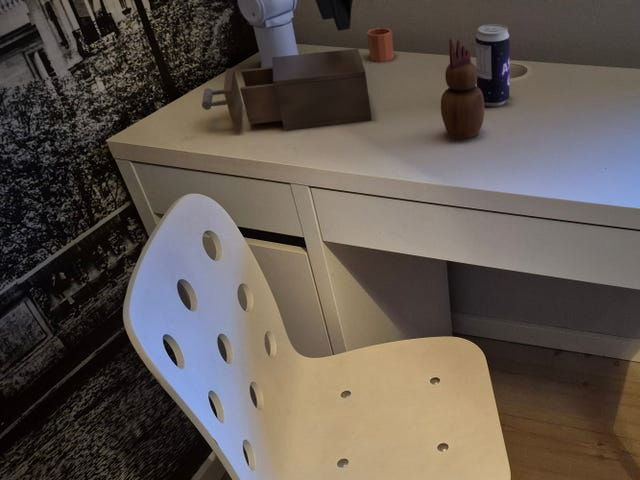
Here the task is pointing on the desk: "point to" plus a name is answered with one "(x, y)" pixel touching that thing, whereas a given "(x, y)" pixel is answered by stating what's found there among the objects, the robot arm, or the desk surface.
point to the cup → (380, 44)
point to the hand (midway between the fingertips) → (336, 23)
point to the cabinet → (321, 89)
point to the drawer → (247, 97)
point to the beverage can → (493, 63)
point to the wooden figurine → (462, 96)
